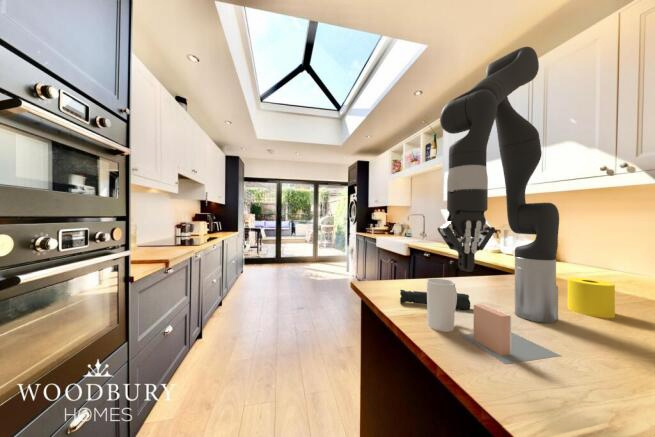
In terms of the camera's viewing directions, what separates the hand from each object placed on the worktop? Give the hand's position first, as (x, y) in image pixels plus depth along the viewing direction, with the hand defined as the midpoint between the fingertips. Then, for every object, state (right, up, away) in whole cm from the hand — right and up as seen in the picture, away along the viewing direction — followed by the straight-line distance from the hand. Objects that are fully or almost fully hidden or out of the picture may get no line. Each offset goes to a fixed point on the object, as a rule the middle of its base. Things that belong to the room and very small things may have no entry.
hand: (466, 270), depth 52 cm
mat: (+10, -17, +2) cm, 20 cm away
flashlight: (+5, -18, +28) cm, 34 cm away
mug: (+1, -18, +12) cm, 21 cm away
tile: (+6, -17, +1) cm, 18 cm away
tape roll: (+52, -18, +24) cm, 60 cm away
